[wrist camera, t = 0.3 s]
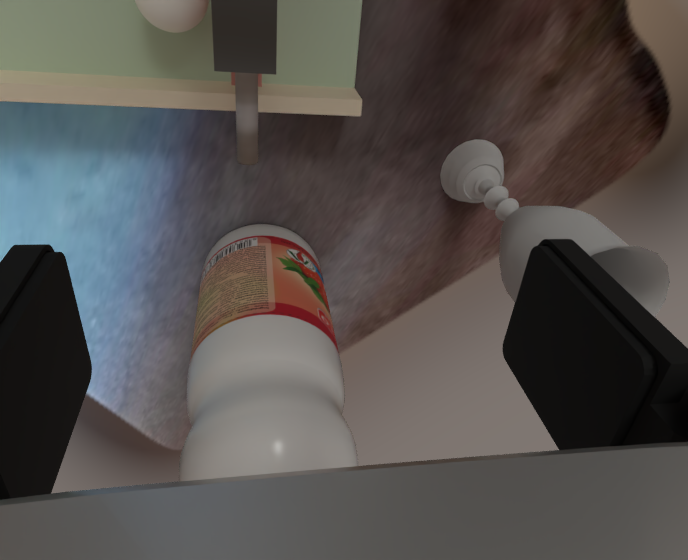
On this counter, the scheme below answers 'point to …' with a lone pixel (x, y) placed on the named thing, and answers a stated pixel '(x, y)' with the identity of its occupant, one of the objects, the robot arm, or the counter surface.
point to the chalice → (548, 227)
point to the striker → (245, 60)
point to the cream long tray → (173, 58)
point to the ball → (173, 13)
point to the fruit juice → (264, 363)
